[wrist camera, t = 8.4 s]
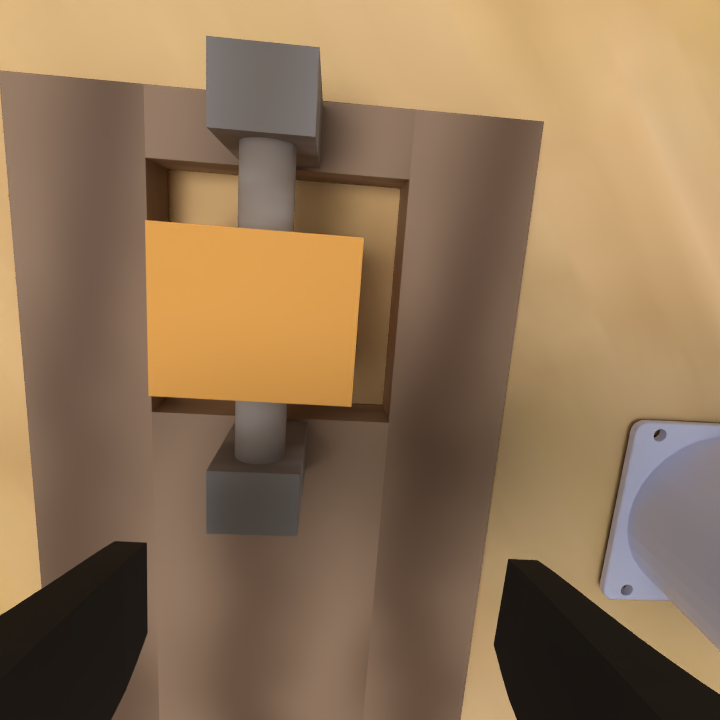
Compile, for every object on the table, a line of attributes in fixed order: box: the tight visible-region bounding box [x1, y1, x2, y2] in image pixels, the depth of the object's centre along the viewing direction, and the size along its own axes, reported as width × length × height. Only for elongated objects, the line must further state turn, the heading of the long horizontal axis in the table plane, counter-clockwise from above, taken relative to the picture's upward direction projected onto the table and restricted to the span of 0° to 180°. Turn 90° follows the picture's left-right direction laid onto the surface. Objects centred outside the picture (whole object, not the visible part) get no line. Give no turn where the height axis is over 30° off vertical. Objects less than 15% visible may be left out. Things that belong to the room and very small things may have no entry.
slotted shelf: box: [0, 36, 544, 720], centre depth 16 cm, size 16×24×6 cm, turn 176°
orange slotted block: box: [145, 220, 364, 407], centre depth 13 cm, size 5×4×5 cm
